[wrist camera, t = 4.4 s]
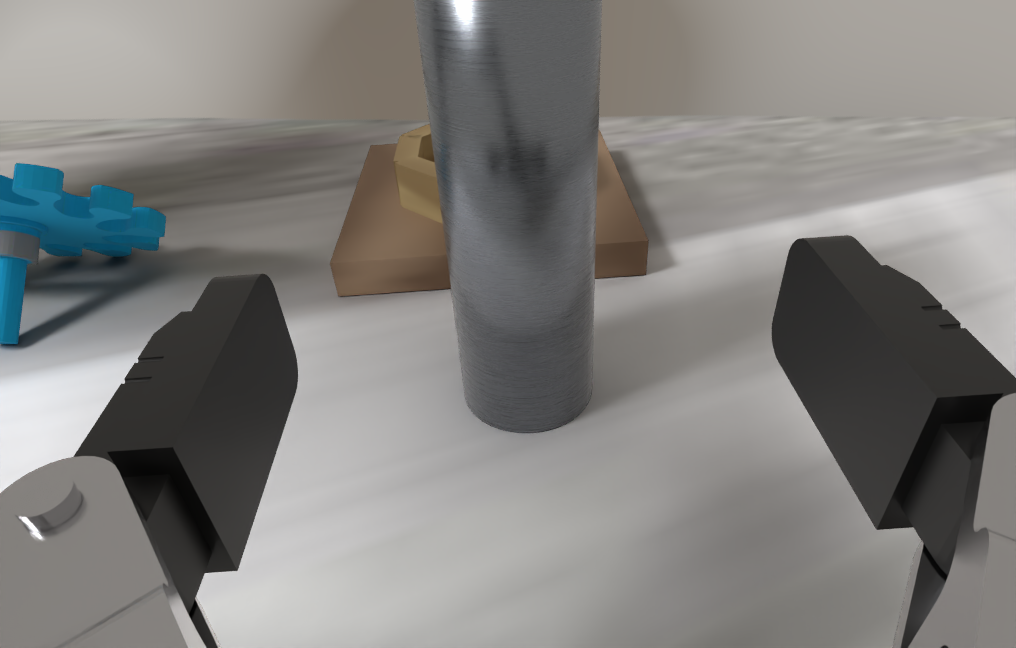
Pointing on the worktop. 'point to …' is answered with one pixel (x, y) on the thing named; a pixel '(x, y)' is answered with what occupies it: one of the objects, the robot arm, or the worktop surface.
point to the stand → (419, 229)
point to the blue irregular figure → (61, 230)
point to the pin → (517, 197)
